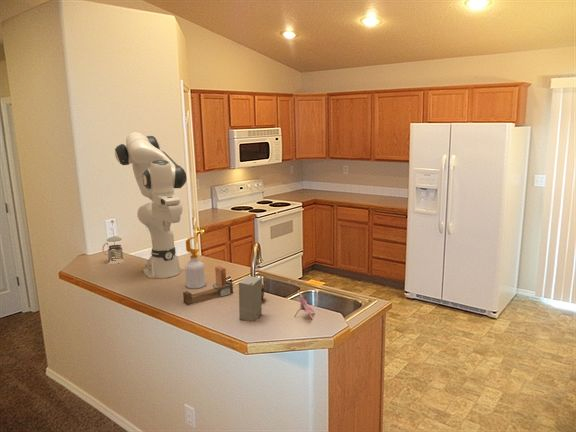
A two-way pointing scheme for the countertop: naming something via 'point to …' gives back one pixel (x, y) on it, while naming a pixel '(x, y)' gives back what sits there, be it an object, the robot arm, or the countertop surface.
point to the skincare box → (250, 298)
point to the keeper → (221, 281)
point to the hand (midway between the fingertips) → (166, 230)
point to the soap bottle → (194, 269)
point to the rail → (203, 295)
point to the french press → (114, 247)
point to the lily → (305, 306)
